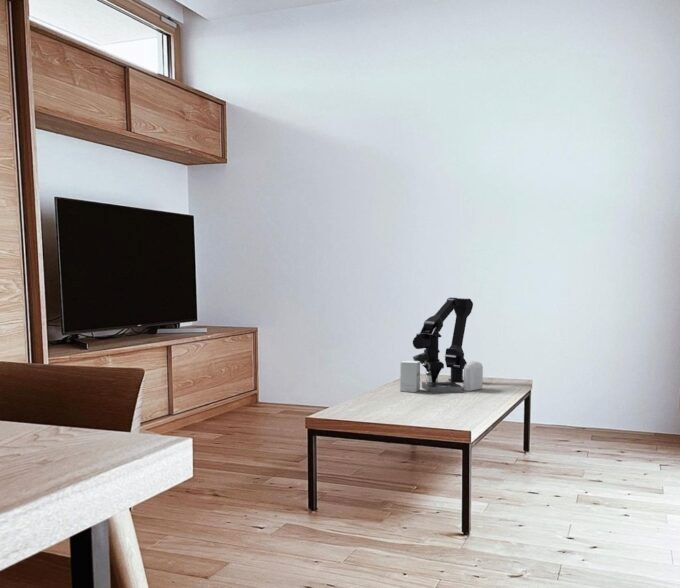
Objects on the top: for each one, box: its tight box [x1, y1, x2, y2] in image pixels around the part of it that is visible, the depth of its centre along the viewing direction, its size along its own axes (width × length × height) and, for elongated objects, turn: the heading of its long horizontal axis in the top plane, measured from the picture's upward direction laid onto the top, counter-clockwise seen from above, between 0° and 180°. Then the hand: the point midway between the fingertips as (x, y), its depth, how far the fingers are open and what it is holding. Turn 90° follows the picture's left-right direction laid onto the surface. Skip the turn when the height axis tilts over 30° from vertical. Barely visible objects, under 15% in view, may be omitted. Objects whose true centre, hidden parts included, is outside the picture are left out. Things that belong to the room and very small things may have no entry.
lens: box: [425, 371, 439, 382], centre depth 309 cm, size 6×6×6 cm
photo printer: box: [462, 360, 484, 392], centre depth 297 cm, size 10×4×12 cm, turn 134°
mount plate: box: [421, 381, 463, 394], centre depth 296 cm, size 14×14×2 cm
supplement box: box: [399, 360, 421, 393], centre depth 294 cm, size 7×7×13 cm
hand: (431, 381), depth 309 cm, fingers closed on lens, 5 cm apart
